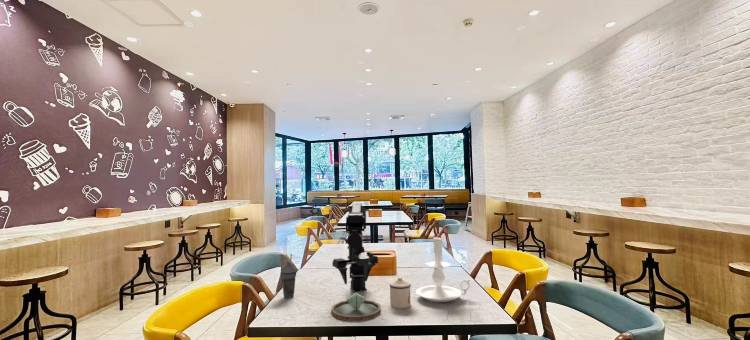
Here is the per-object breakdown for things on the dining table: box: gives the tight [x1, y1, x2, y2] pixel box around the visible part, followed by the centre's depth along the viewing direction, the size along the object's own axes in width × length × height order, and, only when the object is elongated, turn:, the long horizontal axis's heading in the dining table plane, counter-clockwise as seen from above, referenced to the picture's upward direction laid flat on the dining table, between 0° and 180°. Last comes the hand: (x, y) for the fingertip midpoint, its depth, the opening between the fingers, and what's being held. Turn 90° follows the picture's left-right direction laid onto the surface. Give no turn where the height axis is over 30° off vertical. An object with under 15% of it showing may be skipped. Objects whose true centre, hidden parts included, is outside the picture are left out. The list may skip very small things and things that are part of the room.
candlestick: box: [415, 236, 471, 303], centre depth 152 cm, size 21×25×28 cm
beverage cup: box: [280, 253, 298, 299], centre depth 157 cm, size 7×7×20 cm
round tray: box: [330, 299, 382, 322], centre depth 137 cm, size 20×20×2 cm
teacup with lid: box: [389, 276, 411, 309], centre depth 145 cm, size 12×9×12 cm
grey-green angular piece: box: [346, 292, 367, 310], centre depth 137 cm, size 8×4×7 cm, turn 97°
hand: (356, 282), depth 137 cm, fingers open, 9 cm apart
